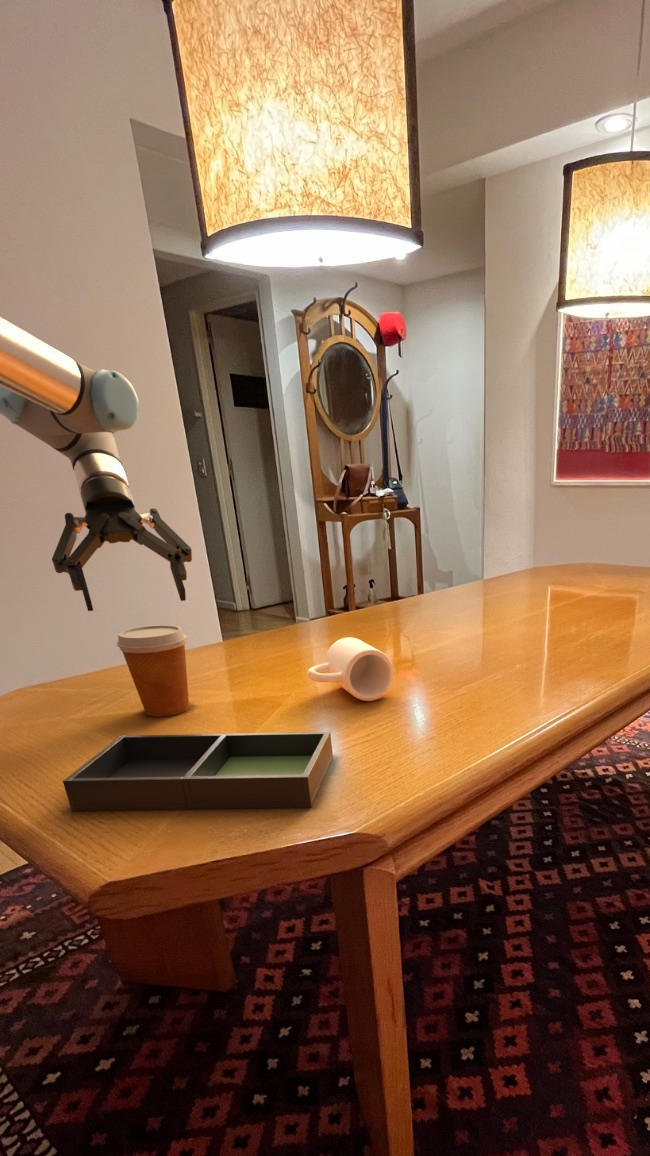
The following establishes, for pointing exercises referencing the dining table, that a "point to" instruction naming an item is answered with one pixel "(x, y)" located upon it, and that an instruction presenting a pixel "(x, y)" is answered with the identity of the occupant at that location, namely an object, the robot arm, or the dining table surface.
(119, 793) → the caddy
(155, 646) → the disposable coffee cup
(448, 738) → the dining table surface
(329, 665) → the mug
